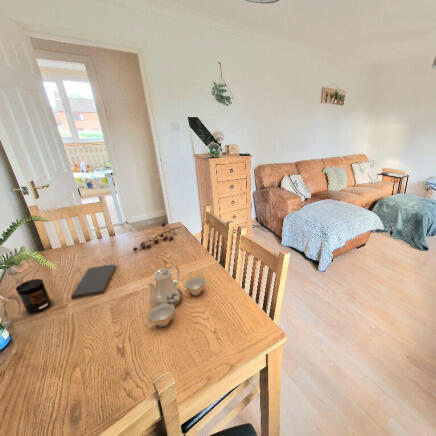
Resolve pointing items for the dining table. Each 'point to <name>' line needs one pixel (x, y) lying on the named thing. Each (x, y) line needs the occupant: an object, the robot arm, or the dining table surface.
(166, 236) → the decorative branch
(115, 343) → the dining table surface
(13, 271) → the robot arm
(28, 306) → the supplement container
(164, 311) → the chinaware
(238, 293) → the dining table surface
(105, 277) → the slate plate
